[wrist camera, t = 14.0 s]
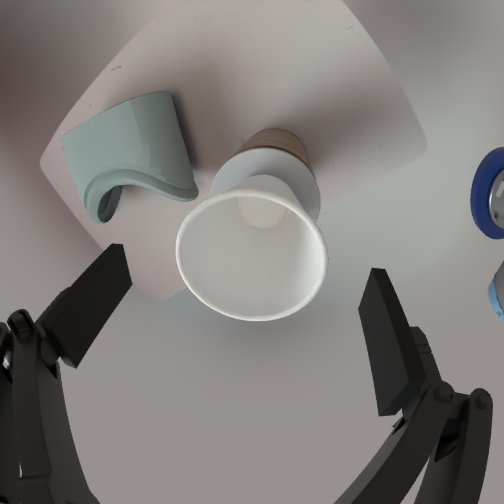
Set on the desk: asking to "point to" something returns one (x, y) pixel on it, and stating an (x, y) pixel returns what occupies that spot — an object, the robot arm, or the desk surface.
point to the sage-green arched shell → (129, 154)
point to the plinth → (278, 144)
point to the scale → (274, 165)
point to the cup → (252, 251)
